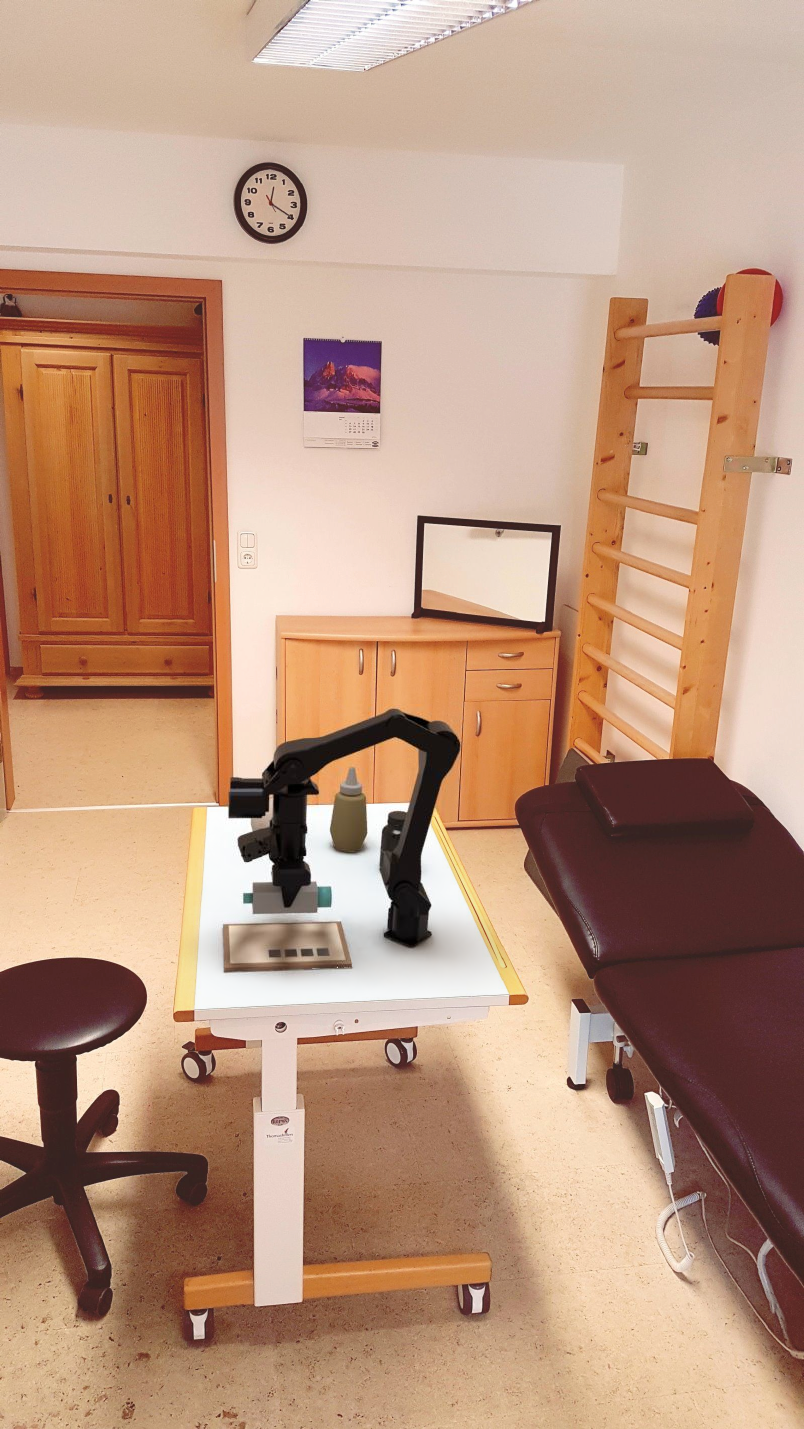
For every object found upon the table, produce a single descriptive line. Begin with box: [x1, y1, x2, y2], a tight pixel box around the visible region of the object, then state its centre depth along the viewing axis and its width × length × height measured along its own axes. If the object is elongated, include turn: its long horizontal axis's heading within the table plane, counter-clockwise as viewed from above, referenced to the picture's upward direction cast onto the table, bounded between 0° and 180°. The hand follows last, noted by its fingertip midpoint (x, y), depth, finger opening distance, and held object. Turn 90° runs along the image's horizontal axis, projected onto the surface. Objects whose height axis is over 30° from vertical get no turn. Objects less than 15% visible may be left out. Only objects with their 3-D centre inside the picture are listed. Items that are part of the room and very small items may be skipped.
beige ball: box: [250, 797, 273, 831], centre depth 216 cm, size 10×10×10 cm
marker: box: [242, 881, 333, 915], centre depth 175 cm, size 15×4×4 cm, turn 100°
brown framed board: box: [222, 920, 353, 973], centre depth 174 cm, size 21×15×1 cm
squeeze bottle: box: [329, 766, 368, 853], centre depth 215 cm, size 8×8×18 cm
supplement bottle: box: [378, 810, 407, 868], centre depth 207 cm, size 7×7×12 cm
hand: (286, 901), depth 175 cm, fingers closed on marker, 4 cm apart
